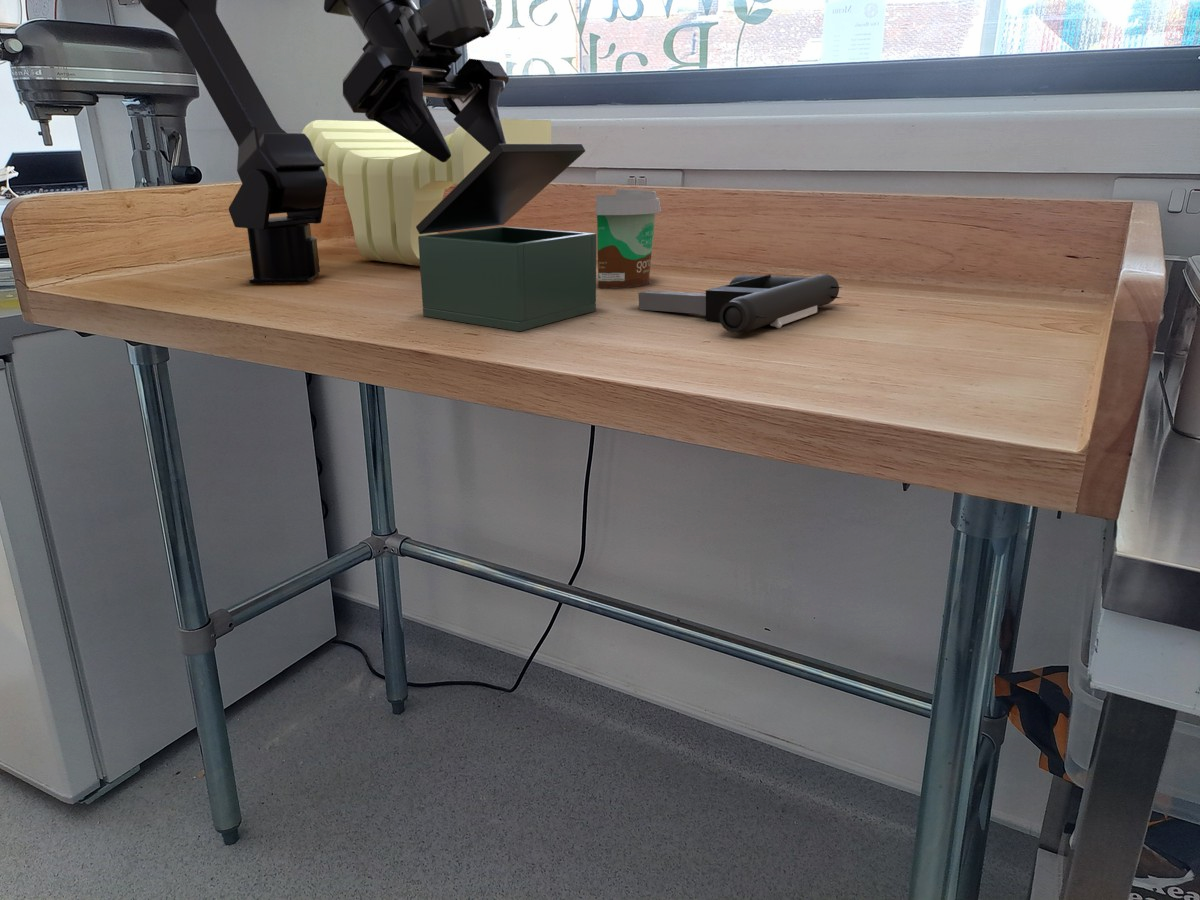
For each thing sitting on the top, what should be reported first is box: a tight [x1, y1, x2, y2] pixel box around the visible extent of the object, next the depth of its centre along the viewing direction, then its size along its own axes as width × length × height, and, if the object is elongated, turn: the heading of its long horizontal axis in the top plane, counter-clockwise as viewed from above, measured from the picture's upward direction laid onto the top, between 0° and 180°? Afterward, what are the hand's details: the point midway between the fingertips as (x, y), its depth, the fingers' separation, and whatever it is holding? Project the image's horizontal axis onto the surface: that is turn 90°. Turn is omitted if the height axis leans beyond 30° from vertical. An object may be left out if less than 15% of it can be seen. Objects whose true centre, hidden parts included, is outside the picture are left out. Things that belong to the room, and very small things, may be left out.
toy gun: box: [637, 273, 843, 334], centre depth 81 cm, size 3×20×16 cm
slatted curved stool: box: [301, 118, 552, 267], centre depth 113 cm, size 30×16×18 cm, turn 54°
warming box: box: [418, 225, 597, 332], centre depth 80 cm, size 12×12×7 cm
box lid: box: [416, 143, 586, 234], centre depth 77 cm, size 12×12×1 cm
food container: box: [595, 188, 662, 289], centre depth 97 cm, size 12×6×10 cm, turn 168°
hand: (477, 158), depth 82 cm, fingers open, 9 cm apart
